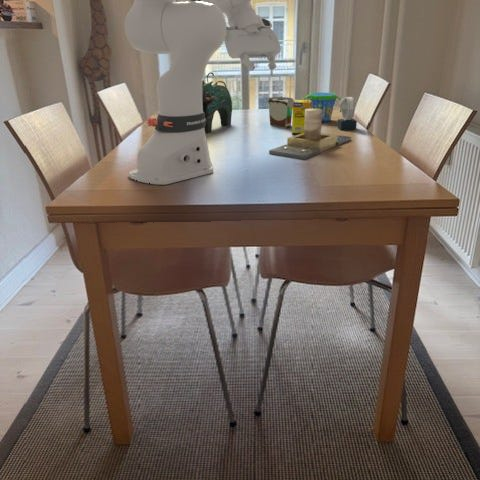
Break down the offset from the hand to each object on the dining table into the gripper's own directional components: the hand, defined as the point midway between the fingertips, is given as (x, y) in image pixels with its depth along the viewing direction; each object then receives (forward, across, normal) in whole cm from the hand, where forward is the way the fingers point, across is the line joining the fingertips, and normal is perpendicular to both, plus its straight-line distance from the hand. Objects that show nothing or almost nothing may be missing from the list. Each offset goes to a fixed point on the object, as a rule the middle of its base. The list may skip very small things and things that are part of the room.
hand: (262, 69), depth 136 cm
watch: (+23, +35, +4) cm, 42 cm away
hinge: (+27, +5, -2) cm, 28 cm away
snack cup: (+14, +42, +18) cm, 48 cm away
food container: (+12, +26, +22) cm, 36 cm away
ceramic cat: (+3, +5, +36) cm, 37 cm away
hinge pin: (+27, +5, -2) cm, 28 cm away
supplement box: (+19, +18, +10) cm, 29 cm away
